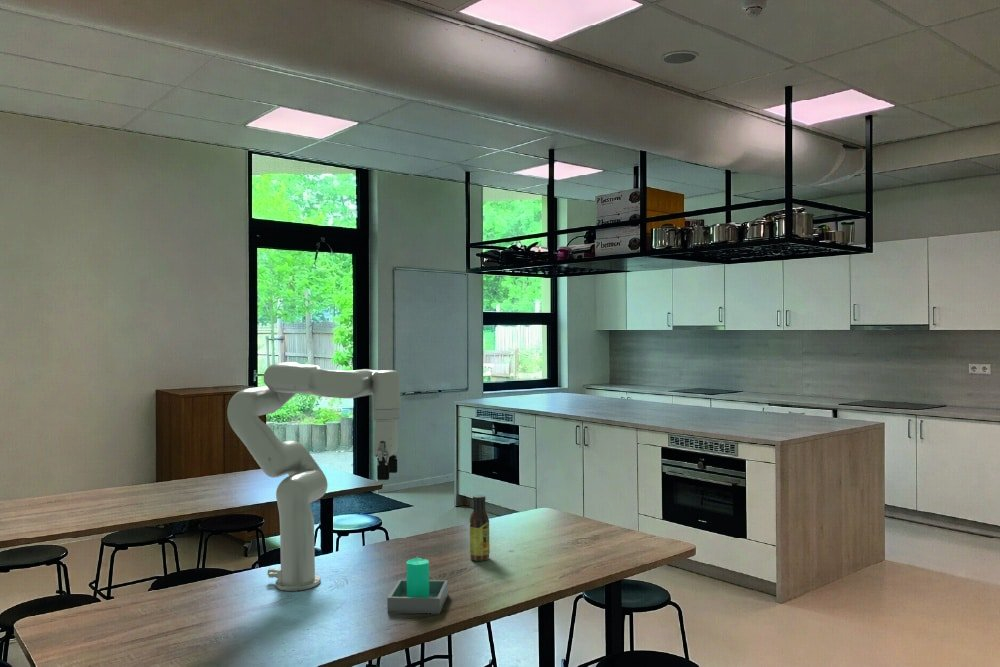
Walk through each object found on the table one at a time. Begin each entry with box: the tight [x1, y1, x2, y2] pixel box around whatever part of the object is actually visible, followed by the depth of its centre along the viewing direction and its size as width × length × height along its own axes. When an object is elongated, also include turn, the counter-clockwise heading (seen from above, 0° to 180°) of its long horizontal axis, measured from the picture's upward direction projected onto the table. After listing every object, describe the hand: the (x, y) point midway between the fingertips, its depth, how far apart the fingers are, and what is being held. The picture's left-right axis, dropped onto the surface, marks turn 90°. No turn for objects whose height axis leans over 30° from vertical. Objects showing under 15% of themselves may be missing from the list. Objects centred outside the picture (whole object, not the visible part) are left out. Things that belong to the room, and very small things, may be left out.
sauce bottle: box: [469, 494, 491, 562], centre depth 232 cm, size 7×6×20 cm
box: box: [386, 579, 449, 615], centre depth 195 cm, size 14×14×4 cm
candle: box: [405, 555, 430, 597], centre depth 195 cm, size 6×6×12 cm
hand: (387, 476), depth 204 cm, fingers open, 9 cm apart
